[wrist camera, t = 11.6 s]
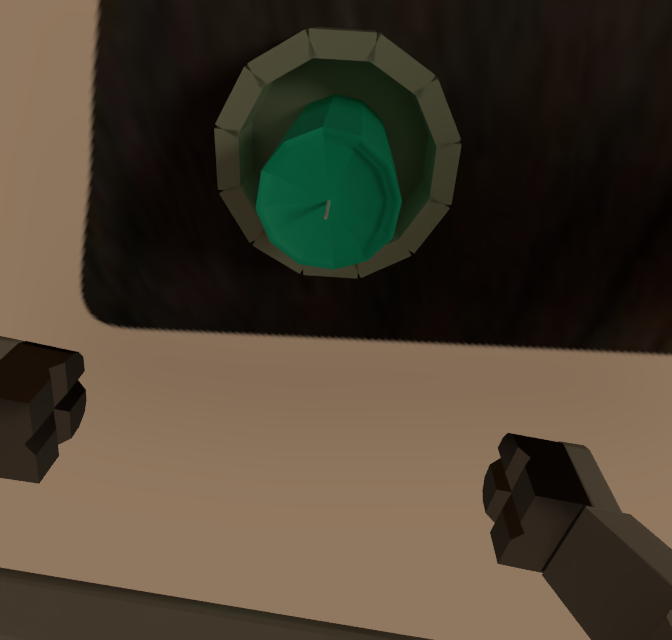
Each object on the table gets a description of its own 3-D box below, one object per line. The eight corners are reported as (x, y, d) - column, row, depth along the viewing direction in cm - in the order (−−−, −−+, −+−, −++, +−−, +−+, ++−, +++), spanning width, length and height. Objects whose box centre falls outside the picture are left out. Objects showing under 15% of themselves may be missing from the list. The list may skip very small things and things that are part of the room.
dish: (489, 116, 30) (510, 132, 26) (366, 279, 36) (366, 313, 31) (304, -25, 27) (293, -33, 23) (200, 176, 33) (176, 200, 28)
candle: (409, 125, 30) (434, 182, 19) (360, 216, 33) (359, 310, 22) (312, 73, 29) (284, 105, 18) (271, 173, 31) (225, 249, 21)
